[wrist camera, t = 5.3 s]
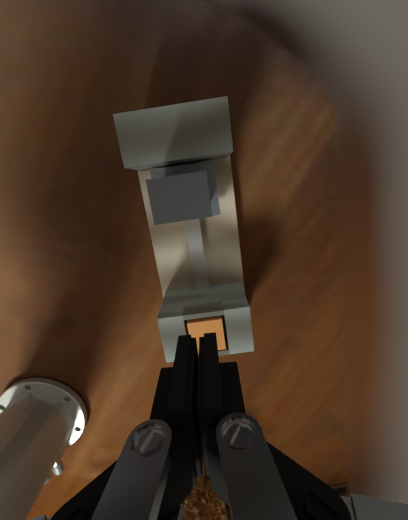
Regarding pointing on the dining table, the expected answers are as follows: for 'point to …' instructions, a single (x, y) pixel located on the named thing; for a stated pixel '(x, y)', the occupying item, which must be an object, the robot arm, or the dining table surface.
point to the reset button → (207, 329)
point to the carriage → (183, 193)
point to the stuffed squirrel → (204, 501)
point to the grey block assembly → (192, 231)
